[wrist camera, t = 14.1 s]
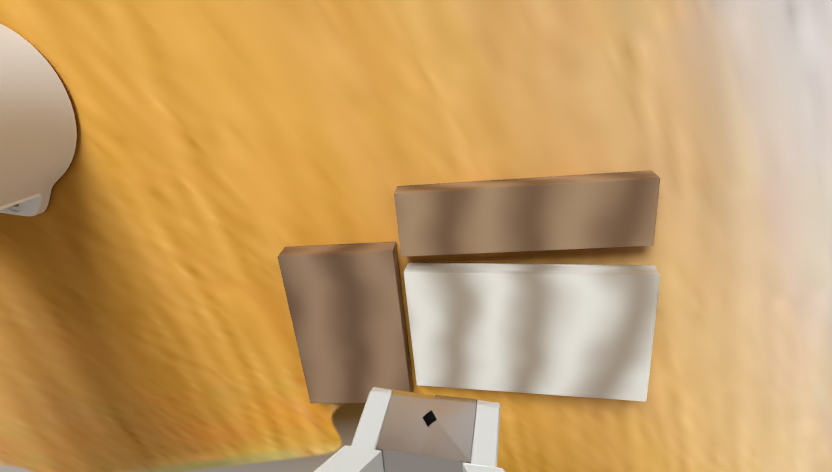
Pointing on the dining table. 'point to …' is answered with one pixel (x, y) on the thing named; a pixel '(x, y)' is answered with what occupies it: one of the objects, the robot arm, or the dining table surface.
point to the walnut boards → (442, 235)
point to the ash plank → (533, 327)
